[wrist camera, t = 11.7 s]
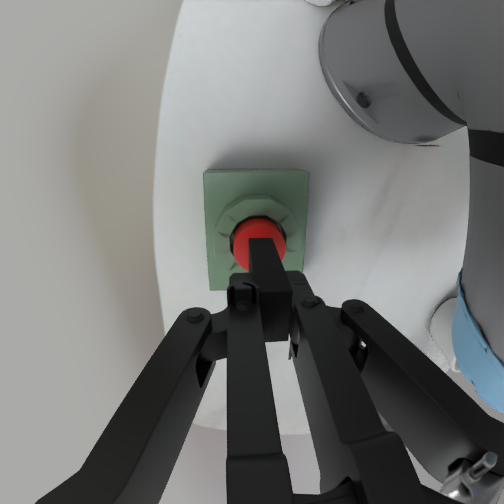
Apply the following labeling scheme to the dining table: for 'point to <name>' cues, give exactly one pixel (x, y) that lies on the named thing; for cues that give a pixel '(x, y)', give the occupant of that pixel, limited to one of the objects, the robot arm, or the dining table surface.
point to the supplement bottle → (321, 2)
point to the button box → (252, 214)
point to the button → (256, 230)
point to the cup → (445, 331)
